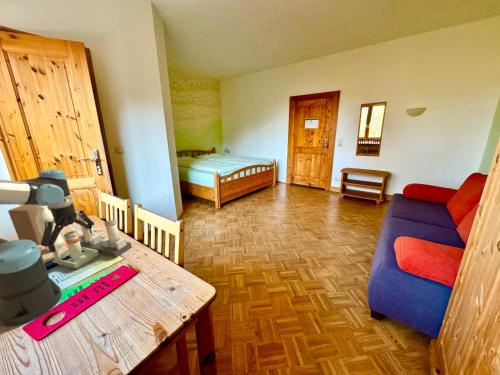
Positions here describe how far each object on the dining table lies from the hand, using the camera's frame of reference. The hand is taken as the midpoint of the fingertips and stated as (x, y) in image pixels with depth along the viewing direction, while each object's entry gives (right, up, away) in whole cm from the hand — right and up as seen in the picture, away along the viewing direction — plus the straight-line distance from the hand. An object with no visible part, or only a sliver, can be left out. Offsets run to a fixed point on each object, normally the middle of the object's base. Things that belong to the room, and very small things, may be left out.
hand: (74, 248), depth 93 cm
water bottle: (-20, -3, +12) cm, 23 cm away
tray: (0, -6, +2) cm, 6 cm away
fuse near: (+14, -1, +7) cm, 16 cm away
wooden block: (-36, -1, +19) cm, 41 cm away
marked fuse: (0, -5, +2) cm, 5 cm away
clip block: (+6, -3, +11) cm, 13 cm away
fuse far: (-2, 0, +12) cm, 12 cm away
